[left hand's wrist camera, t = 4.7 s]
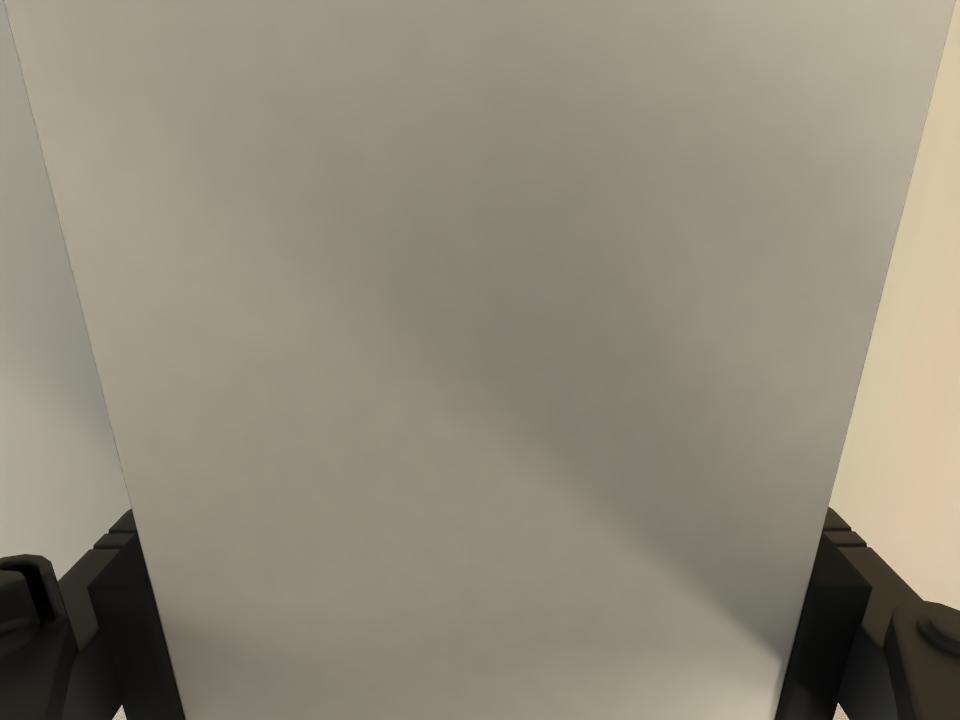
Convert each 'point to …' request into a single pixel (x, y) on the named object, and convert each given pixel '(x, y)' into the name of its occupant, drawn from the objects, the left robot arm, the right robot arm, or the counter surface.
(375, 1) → the wide beam
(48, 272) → the counter surface
